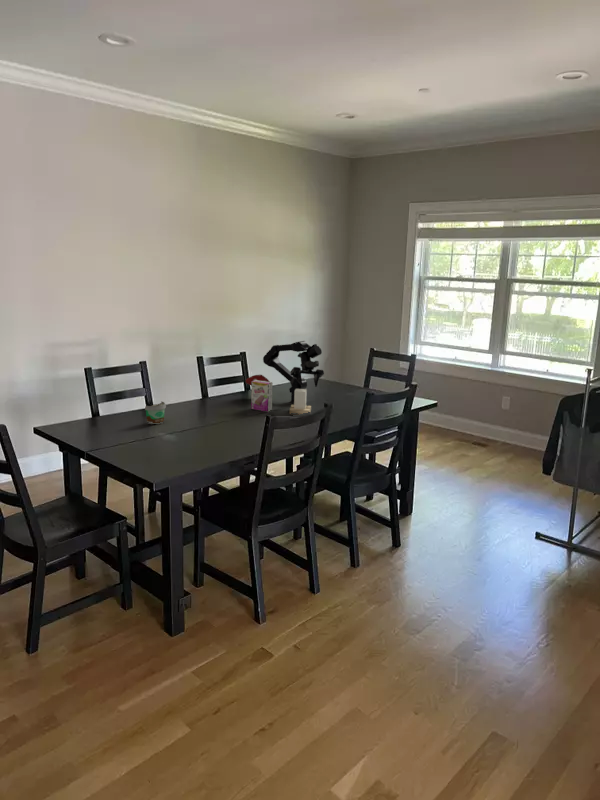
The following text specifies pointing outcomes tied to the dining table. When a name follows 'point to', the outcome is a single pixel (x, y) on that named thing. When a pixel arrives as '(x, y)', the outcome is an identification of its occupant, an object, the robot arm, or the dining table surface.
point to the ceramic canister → (300, 398)
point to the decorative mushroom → (256, 377)
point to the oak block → (300, 410)
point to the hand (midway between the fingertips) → (308, 385)
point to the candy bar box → (261, 395)
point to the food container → (155, 413)
